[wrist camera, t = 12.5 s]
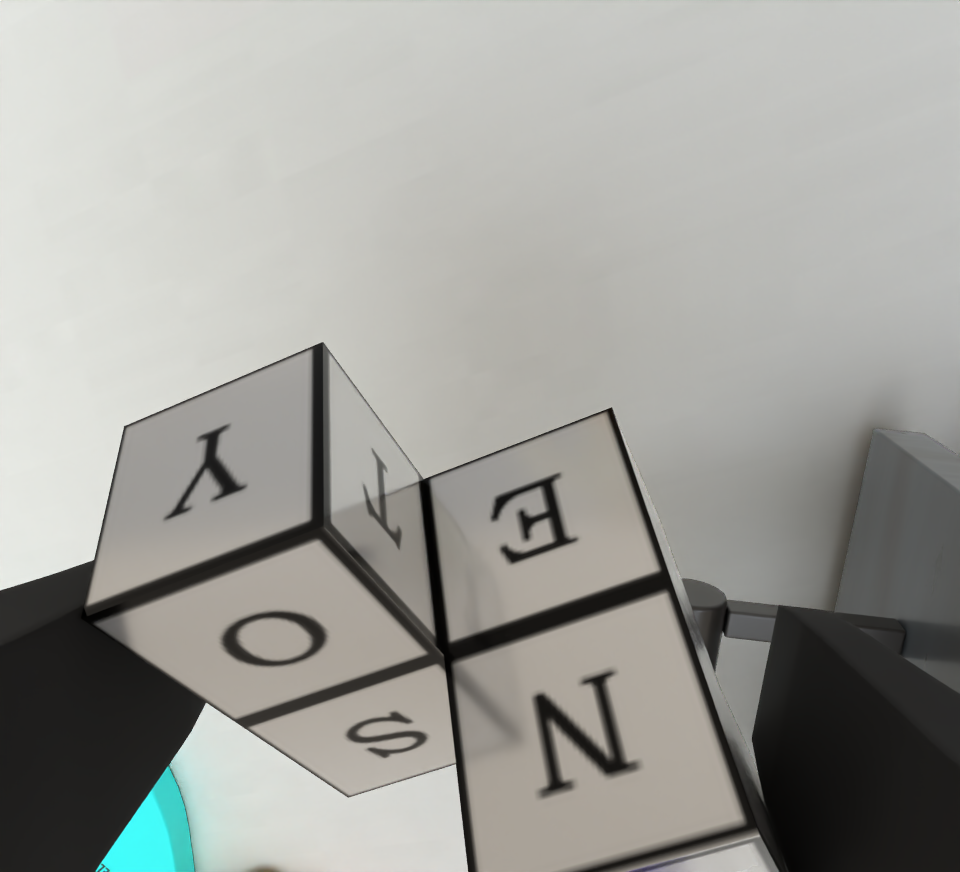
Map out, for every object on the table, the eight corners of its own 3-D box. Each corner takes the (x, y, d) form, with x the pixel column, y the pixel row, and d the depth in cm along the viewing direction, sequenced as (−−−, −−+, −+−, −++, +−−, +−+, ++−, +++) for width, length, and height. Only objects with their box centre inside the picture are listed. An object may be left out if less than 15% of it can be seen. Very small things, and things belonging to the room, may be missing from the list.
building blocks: (697, 606, 15) (543, 248, 9) (825, 958, 11) (695, 712, 6) (415, 699, 16) (124, 426, 10) (445, 1051, 12) (12, 920, 7)
